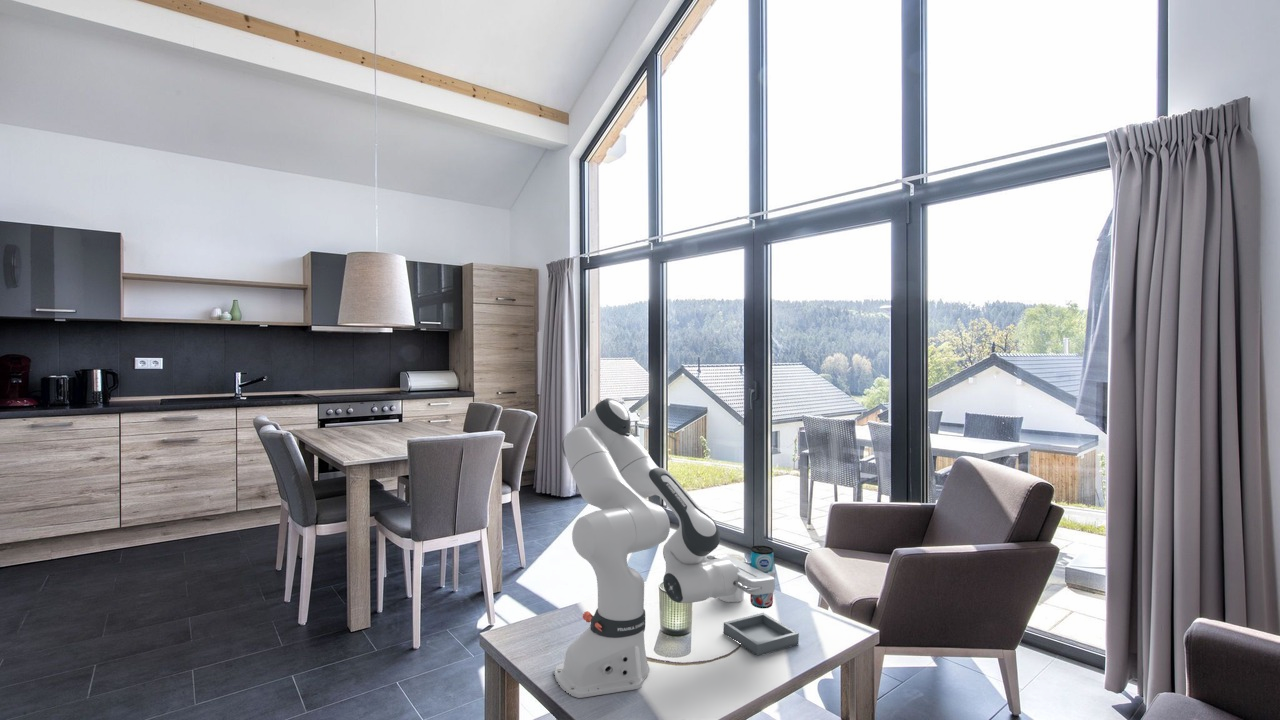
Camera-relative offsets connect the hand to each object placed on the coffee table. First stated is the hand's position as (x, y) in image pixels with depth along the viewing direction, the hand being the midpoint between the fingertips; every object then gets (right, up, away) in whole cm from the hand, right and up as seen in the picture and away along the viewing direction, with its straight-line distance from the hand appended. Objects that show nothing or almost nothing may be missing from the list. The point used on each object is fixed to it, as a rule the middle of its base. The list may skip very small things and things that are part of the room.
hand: (764, 569), depth 163 cm
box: (-1, -19, 0) cm, 19 cm away
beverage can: (-1, -10, 0) cm, 10 cm away
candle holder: (-5, -18, +27) cm, 33 cm away
